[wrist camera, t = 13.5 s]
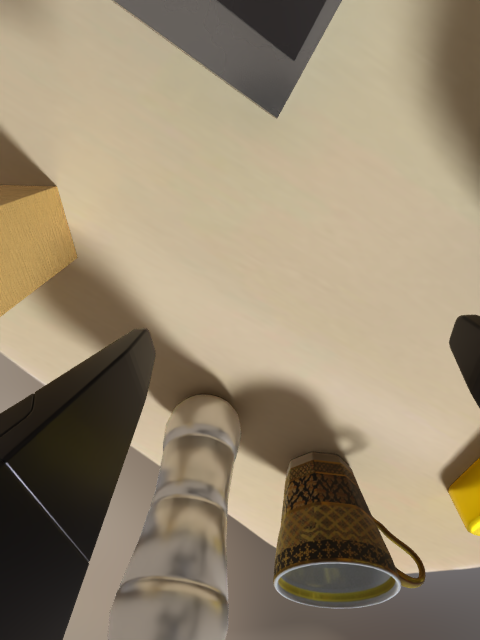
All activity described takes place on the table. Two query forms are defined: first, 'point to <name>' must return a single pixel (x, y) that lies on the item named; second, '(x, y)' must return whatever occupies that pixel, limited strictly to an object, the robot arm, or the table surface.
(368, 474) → the table surface
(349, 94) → the table surface
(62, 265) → the tan rectangular block
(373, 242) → the table surface
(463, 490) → the yellow flat box
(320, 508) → the ceramic cup
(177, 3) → the grey slotted base
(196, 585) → the plastic bottle
